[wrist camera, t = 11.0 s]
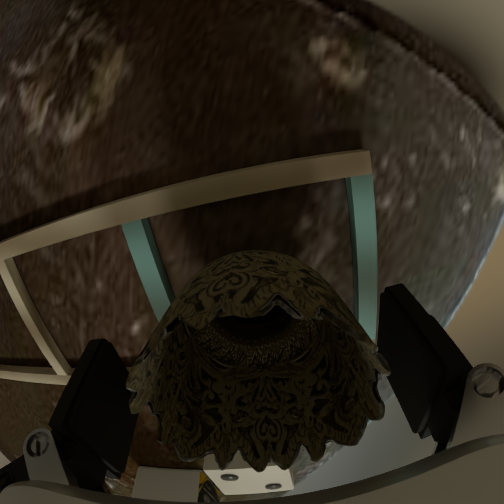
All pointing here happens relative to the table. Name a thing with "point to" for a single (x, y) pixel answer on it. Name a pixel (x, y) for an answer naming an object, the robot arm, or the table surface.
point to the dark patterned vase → (258, 365)
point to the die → (247, 477)
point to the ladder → (184, 196)
